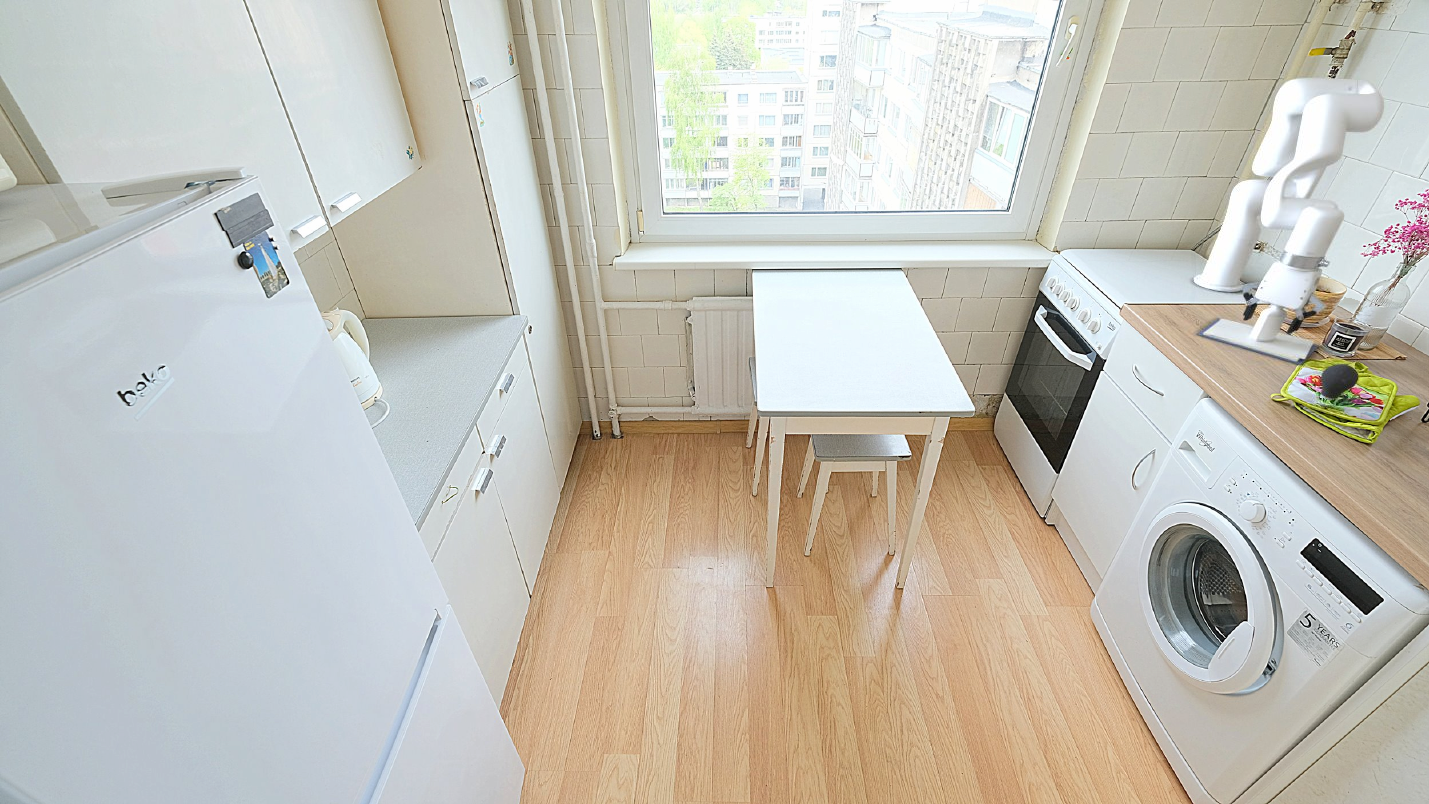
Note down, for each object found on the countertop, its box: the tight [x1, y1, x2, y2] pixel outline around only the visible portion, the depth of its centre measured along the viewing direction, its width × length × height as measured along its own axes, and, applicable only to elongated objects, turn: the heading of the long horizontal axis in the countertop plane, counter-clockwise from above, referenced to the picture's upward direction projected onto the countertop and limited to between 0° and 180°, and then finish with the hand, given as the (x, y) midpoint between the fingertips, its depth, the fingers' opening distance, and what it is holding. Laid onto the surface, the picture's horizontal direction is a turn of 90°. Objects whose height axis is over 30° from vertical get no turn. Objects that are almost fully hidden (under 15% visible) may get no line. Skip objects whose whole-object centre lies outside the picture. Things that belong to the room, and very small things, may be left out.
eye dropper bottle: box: [1250, 304, 1288, 342], centre depth 160 cm, size 4×6×12 cm
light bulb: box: [1316, 363, 1359, 408], centre depth 135 cm, size 6×6×10 cm
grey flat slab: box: [1196, 318, 1319, 366], centre depth 165 cm, size 16×22×1 cm
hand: (1268, 325), depth 161 cm, fingers open, 9 cm apart
